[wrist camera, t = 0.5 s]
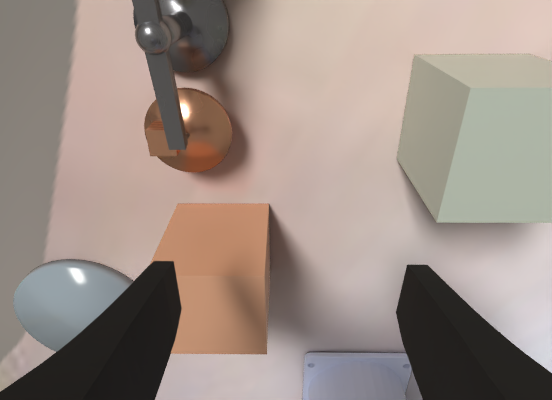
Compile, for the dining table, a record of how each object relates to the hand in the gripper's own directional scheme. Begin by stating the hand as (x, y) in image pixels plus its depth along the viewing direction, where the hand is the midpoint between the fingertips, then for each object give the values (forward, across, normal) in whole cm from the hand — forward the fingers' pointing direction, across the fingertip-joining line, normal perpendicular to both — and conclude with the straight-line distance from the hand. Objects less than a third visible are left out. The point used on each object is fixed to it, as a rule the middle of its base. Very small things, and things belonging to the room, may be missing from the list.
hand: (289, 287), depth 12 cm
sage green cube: (+10, -8, -3) cm, 13 cm away
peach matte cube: (+10, +4, +5) cm, 12 cm away
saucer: (+10, +14, +11) cm, 20 cm away
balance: (+10, +5, -7) cm, 13 cm away
